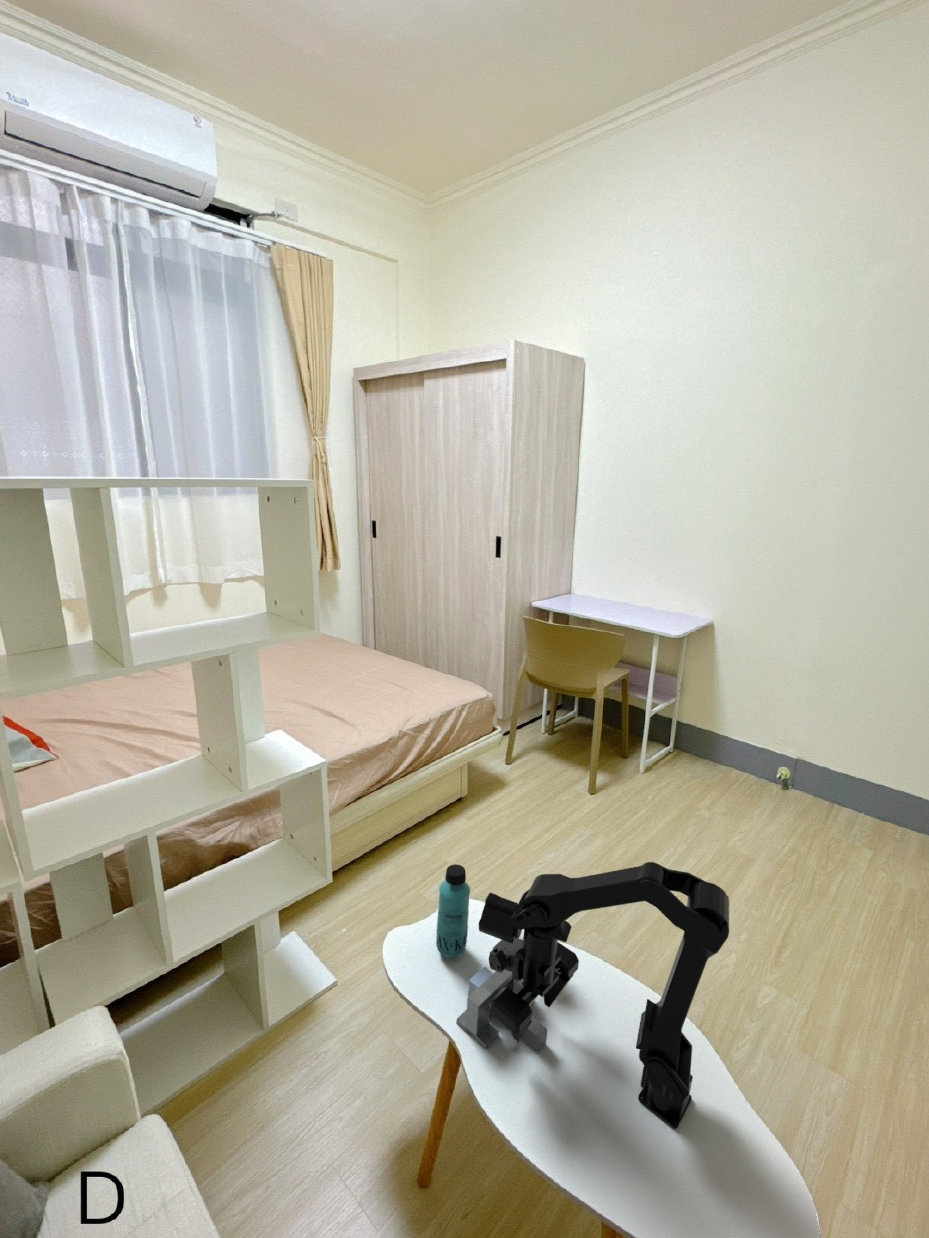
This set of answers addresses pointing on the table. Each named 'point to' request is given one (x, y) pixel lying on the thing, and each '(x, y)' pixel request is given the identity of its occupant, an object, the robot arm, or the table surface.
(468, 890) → the beverage bottle
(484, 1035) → the gray arch-shaped bracket
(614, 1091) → the table surface
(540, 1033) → the plug
